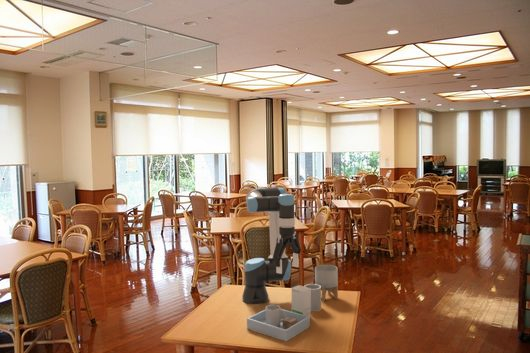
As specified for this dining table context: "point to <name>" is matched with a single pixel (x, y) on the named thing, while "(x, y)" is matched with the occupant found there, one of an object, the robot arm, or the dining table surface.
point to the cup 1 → (274, 315)
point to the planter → (327, 279)
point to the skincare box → (301, 300)
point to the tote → (259, 325)
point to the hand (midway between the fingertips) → (287, 269)
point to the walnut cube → (288, 322)
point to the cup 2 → (315, 296)
